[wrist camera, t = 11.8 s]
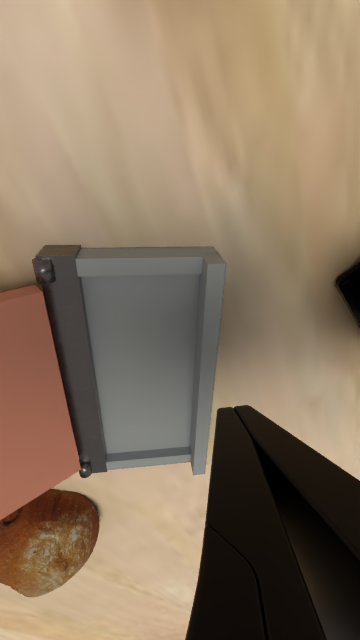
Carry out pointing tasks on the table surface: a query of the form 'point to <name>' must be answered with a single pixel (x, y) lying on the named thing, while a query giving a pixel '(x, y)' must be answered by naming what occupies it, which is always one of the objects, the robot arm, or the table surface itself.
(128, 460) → the tray
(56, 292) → the sill
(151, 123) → the table surface
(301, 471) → the robot arm
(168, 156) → the table surface
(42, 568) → the bread roll
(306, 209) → the table surface
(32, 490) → the panel
